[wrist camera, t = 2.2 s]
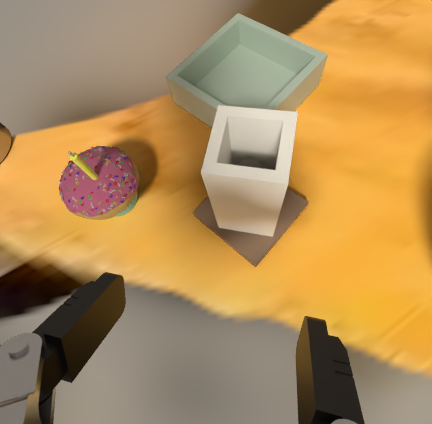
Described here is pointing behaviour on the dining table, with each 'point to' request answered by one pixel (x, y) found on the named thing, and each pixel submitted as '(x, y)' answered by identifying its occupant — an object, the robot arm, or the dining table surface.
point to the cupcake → (100, 183)
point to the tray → (246, 71)
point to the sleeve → (249, 176)
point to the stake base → (248, 242)
